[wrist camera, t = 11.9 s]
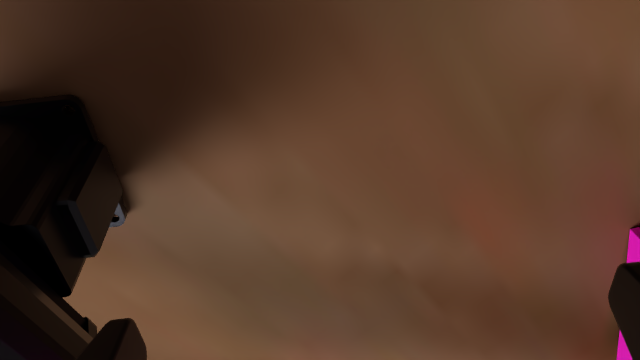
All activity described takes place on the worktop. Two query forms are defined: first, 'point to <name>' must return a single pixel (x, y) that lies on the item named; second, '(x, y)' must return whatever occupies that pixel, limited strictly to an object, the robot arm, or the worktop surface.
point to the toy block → (636, 253)
